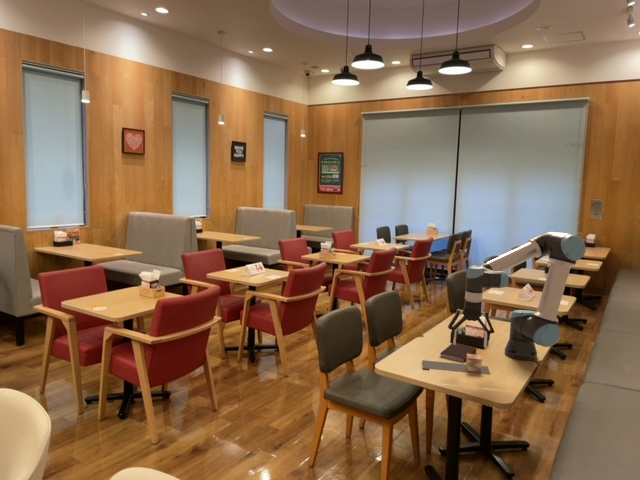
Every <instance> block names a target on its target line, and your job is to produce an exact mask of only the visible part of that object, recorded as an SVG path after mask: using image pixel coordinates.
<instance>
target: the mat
mask: <svg viewBox="0 0 640 480" xmlns="http://www.w3.org/2000/svg"><path fill="white" fill-rule="evenodd" d="M422 370H425V371H430V370H438V371H448V372H458V373H467V374H468V373H469V374H476V375H477V374H479V375H488V376H491V375H492V374H491V372H490V369H489V366H486V365H481V372H475V371H467V368H466V363H457V362H446V361H445V362H442V361H434V360H422Z"/></svg>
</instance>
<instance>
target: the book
mask: <svg viewBox="0 0 640 480" xmlns="http://www.w3.org/2000/svg"><path fill="white" fill-rule="evenodd" d="M476 352H477V347H475V346H470V345H468V344H463V343H460V342H459V343H458V342H456V344H455V345H454V344H453V343H451V344H450V345H448V346H447V347H446V348H445V349H443V350H442V351H441V352H440V353H439V354H440V358H447V359H450V360H454V361H458V362H461V363H466V358H467V354H476Z"/></svg>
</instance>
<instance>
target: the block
mask: <svg viewBox="0 0 640 480" xmlns="http://www.w3.org/2000/svg"><path fill="white" fill-rule="evenodd" d="M482 361H483V358H482V356H481V354H476V353H475V354H467V358H466V361H465V364H466V368H467V371H475V372H481V366H482V364H483V363H482Z"/></svg>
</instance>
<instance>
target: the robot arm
mask: <svg viewBox="0 0 640 480" xmlns="http://www.w3.org/2000/svg"><path fill="white" fill-rule="evenodd" d="M585 253H586V243H585V242H584V240H583V238H582V237H580V236H578V235H577V234H572V233H567V232H565V233H564V232H559V231H548V232H546V233H545V232H544V233H542V234H539V235H537V236H535V237H533V238H530V239H529V240H527V242H526V243H525V244H523V245H521V246H518V247H516V248H514V249H512V250H509V251H507V252H506V253H504V254H501V255H499V256H497V257H495V258H493V259H491V260H489V261H487V262H484V263H482V264H480V265H479V264H473V265H471V266H468V268H467V270H466V274H465V275H466V277H465V294H464V299H465V300H464V301H463V302H464V303H463V309H460V308H457V309H456V312H455V314H454V316H453V317H452V319H451V320H450V322H449V324H447V325H448V326H447V328H448V329H449V330H451V337H452V338H453V341H452V342H453V344H454V345H455V344H456V343H457V341H456V340H457V328H459V327H460V326H461V325H462V324H463V323H464V322H466V321H468V322H469V321H473V322H478V323H479V324H480V326H481V327H482V329H484V331H485V332H484V337H483V338H484V340H483V348H484V349H487V346H488V345H487V343H488V342H489V341H490V336H491V334H494V333H495V330H494V327H493V325H492V323H491V320H490V319H489V312H488V311H483V312H482V306H483V305H482V303H483V302H482V301H483V292H484V291H483V290H484V289H486V288H487V289H493V288H494V289H501V288H506V287H507V286H508V285H509V283H510V282H509V281H510V277H509V275H508V273H507V272H506V271H508V270H509V269H512V268H514V267H516V266H519V265H520V264H523V263H525V262H527V261H529V260H531V259H532V258H541V257H542V256H548V260H549V263H550V264H549V268H548V272H547V275H546V277H545V278H546V279H545V282H544V285H543V289H542V291H541V296H540V299H539V303H538V306H537V310H536V311H534V310H528V309H517V310H516V309H515V310H513V311H512V312H511V313H510V327H509V338H508V341H507V343H506V345H505V348H504V354H505V355H506V356H508V357H509V358H512V359H515V360H519V361H533V360H536V359H537V358H538V351H537V348H536V345H537V346H540V347H545V348H548V347H552V346H553V345H556V344H557V343H558V342H559V340H560V338H561V335H562V334H561V333H562V332H561V329H560V327H559V326H558V325H559V319H558V316H557V315H558V312H559V308H560V305H561V301H562V298H563V295H564V292H565V288H566V285H567V281H568V278H569V274H570V270H571V268H572V267H574V266H576V264H577V261H579V260H581V259H582V258H583V257H585ZM462 314H463V316H462V317H461V318H460V319H459V320H458V318H459V316H460V315H462ZM482 316H483V317H484V318H485V320H486V323H487V324H488V327H487V326H486V324H485V323H484V322H483V321H482V319H481V317H482ZM457 320H458V321H457ZM456 321H457V322H456ZM488 328H489V329H488Z"/></svg>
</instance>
